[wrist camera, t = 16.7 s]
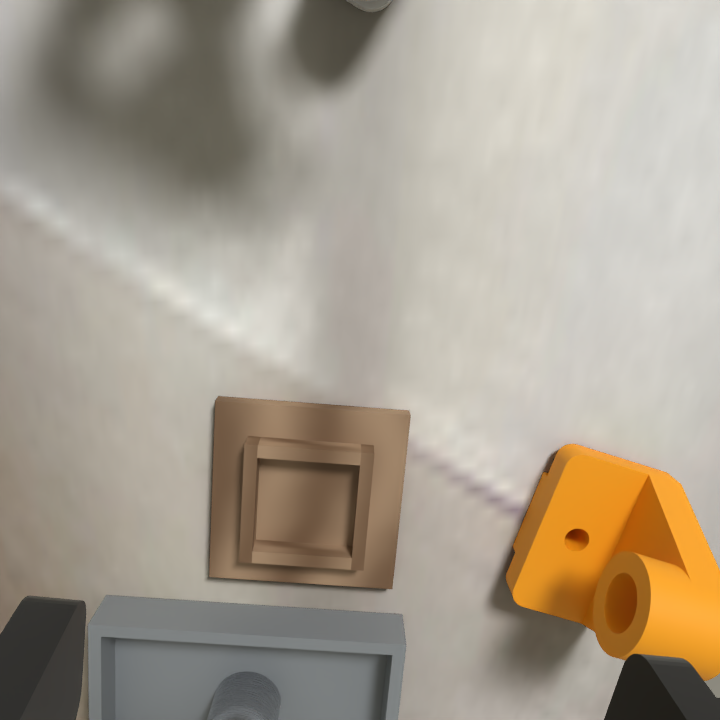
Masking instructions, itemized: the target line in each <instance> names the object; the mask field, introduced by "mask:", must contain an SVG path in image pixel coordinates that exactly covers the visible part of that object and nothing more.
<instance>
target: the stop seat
mask: <svg viewBox="0 0 720 720" xmlns="http://www.w3.org/2000/svg"><path fill="white" fill-rule="evenodd" d="M410 416H411V415H410V412H409V411H407V410H394V409H380V408H367V407H354V406H341V405H328V404H314V403H301V402H288V401H275V400H262V399H248V398H235V397H222V396H218V398H217V399H216V400H215V422H214V450H213V479H212V507H211V536H210V564H209V577H218V578H233V579H248V580H263V581H277V582H292V583H307V584H322V585H337V586H352V587H367V588H382V589H392V586H393V577H394V567H395V558H396V549H397V539H398V530H399V520H400V511H401V501H402V492H403V482H404V473H405V464H406V454H407V445H408V435H409V426H410Z"/></svg>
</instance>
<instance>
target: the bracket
mask: <svg viewBox="0 0 720 720" xmlns="http://www.w3.org/2000/svg"><path fill="white" fill-rule="evenodd" d="M513 548H514V551H515V554H514V557H513V559H512V562H511V564H510V566H509V569H508V571H507V574H506V582H507V584H508V587H509V589H510V591H511V594H512V596H513V599H514V601H515V602H516V603H517V604H518V605H520V606H522V607H525V608H529V609H532V610H536V611H539V612H543V613H546V614H550V615H553V616H557V617H560V618H564V619H567V620H571V621H574V622H578V623H581V624H583V625H585V626H586V627H588V628H589V629H591V630H593V631H594V632H595V633H596V637H597V640H598V642H599V644H600V646H601V648H602V649H603V650H604V651H605V652H606V653H607V654H608V655H610V656H612V657H615V658H619V659H622V660H627V658H628V657H629V656H630V655H632V654H645V655H656V656H667V657H678V658H683V659H685V660H687V661H688V662H689V663H690V664H691V665H692V666H693V667H694V668H695V670H696V671H697V672H698V674H699V675H700V676H701V678H702V679H703V681H707V680H710V679H712V678H714V677H715V676H717V675H718V674H719V673H720V570H719V568H718V566H717V563H716V561H715V559H714V557H713V554H712V552H711V550H710V548H709V545H708V543H707V541H706V539H705V536H704V534H703V532H702V530H701V527H700V525H699V523H698V521H697V519H696V516H695V514H694V512H693V510H692V507H691V505H690V503H689V501H688V498H687V496H686V494H685V492H684V489H683V487H682V485H681V484H680V483H679V482H678V481H676V480H675V479H674V478H673V477H672V476H670V475H669V474H668V473H667V472H663V471H660V470H657V469H654V468H651V467H647V466H644V465H641V464H638V463H635V462H631V461H628V460H625V459H622V458H618V457H615V456H612V455H609V454H606V453H602V452H599V451H596V450H593V449H590V448H586V447H583V446H580V445H577V444H568V445H565V446H563V447H562V448H560V449H559V451H558V452H557V454H556V456H555V458H554V461H553V463H552V465H551V468H550V470H549V473H546V472H543V474H542V476H541V479H540V481H539V484H538V486H537V489H536V491H535V493H534V496H533V498H532V501H531V503H530V505H529V508H528V510H527V513H526V515H525V518H524V520H523V522H522V525H521V527H520V530H519V532H518V534H517V537H516V539H515V542H514V544H513Z"/></svg>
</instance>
